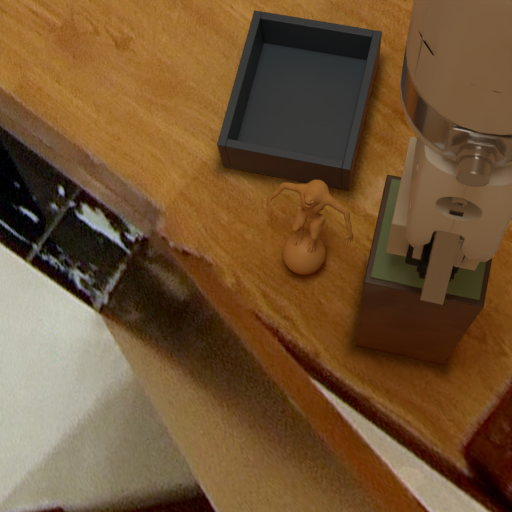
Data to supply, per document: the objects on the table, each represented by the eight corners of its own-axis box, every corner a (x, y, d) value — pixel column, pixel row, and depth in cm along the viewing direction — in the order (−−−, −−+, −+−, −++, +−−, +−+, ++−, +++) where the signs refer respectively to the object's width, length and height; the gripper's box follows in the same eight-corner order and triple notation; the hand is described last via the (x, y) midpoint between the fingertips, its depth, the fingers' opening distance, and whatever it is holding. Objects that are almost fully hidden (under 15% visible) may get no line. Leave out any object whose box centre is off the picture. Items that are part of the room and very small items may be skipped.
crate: (379, 59, 87) (382, 30, 82) (349, 191, 83) (350, 170, 78) (258, 38, 89) (254, 9, 84) (223, 167, 85) (216, 144, 80)
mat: (496, 200, 58) (497, 198, 58) (478, 300, 56) (479, 299, 56) (391, 180, 59) (391, 178, 59) (370, 278, 58) (370, 276, 57)
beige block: (489, 189, 55) (506, 153, 50) (475, 271, 53) (490, 243, 48) (402, 172, 56) (410, 135, 50) (385, 252, 54) (391, 223, 49)
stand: (458, 281, 79) (503, 196, 58) (443, 365, 77) (483, 307, 56) (373, 264, 81) (387, 173, 60) (355, 346, 78) (363, 282, 57)
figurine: (256, 259, 82) (243, 216, 70) (284, 205, 83) (276, 155, 72) (335, 296, 80) (335, 258, 69) (362, 240, 81) (367, 194, 70)
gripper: (551, 282, 34) (477, 362, 51) (607, -80, 38) (522, 106, 56) (363, 243, 35) (353, 335, 52) (439, -104, 40) (406, 86, 57)
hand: (440, 216), depth 54 cm, fingers closed on beige block, 5 cm apart
